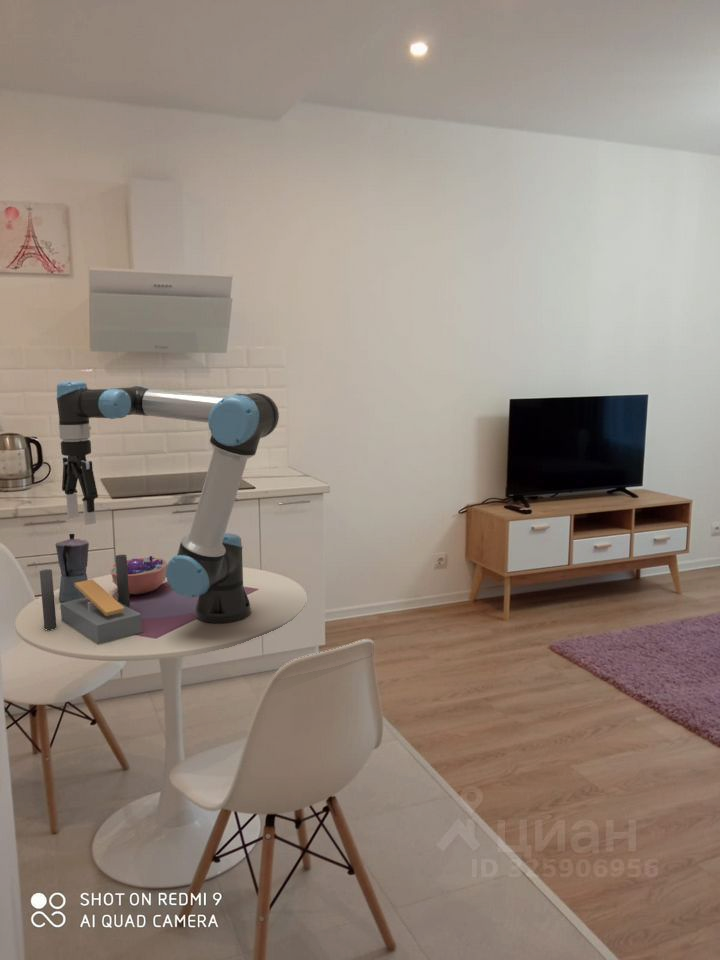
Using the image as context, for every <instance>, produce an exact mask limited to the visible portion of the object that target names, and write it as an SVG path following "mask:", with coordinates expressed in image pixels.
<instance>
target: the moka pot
mask: <svg viewBox="0 0 720 960" xmlns="http://www.w3.org/2000/svg"><path fill="white" fill-rule="evenodd" d="M89 544H90V543H89V542H88V540H85V539H80V538H75V533H70V534H69V539H66V540H62V541H61V540H60V541H58V542H55V549H56V553H57V554H56V555H57V561H58V564H59V565H58V566H59V569H60V575H61V576H60V583H59V584H60V585H59V593H58V600H59V602H60V603H63V602H68V601H72V600H76V599H81V598H85V596H84V595H83V594H82V593H81V592H80V591H79V590H78V589H77V588H76V587H75V583H77V582H81V581H86V580H89V579H88V574H87V567H88V559H89V548H90V547H89Z"/></svg>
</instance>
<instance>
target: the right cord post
mask: <svg viewBox="0 0 720 960" xmlns="http://www.w3.org/2000/svg"><path fill="white" fill-rule="evenodd" d="M127 557H128V556H127V554H118V555H115V564H116V573H117V585H116V586H117V599H118V601H117V602H119V603H121V604H123V605H125V606H127V607H129V608H131V606H130V605H131V604H130V593H129V586H128V571H127V560H128V559H127Z"/></svg>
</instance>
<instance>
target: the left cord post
mask: <svg viewBox="0 0 720 960" xmlns="http://www.w3.org/2000/svg"><path fill="white" fill-rule="evenodd" d="M39 580H40V592H41V604H42V612H43V613H42V614H43V616H42V617H43V627H44V628H45V629H47V630H49V631H52V630H51V629H54V630H56V629H57V628H56V627H58V626H57V615H56V605H55V593H54V592H55V591H54V581H53V580H54V579H53V570H52V569H50V568H49V569H42V570H39ZM55 628H56V629H55ZM45 629H44V630H45ZM47 630H46V631H47Z"/></svg>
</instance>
